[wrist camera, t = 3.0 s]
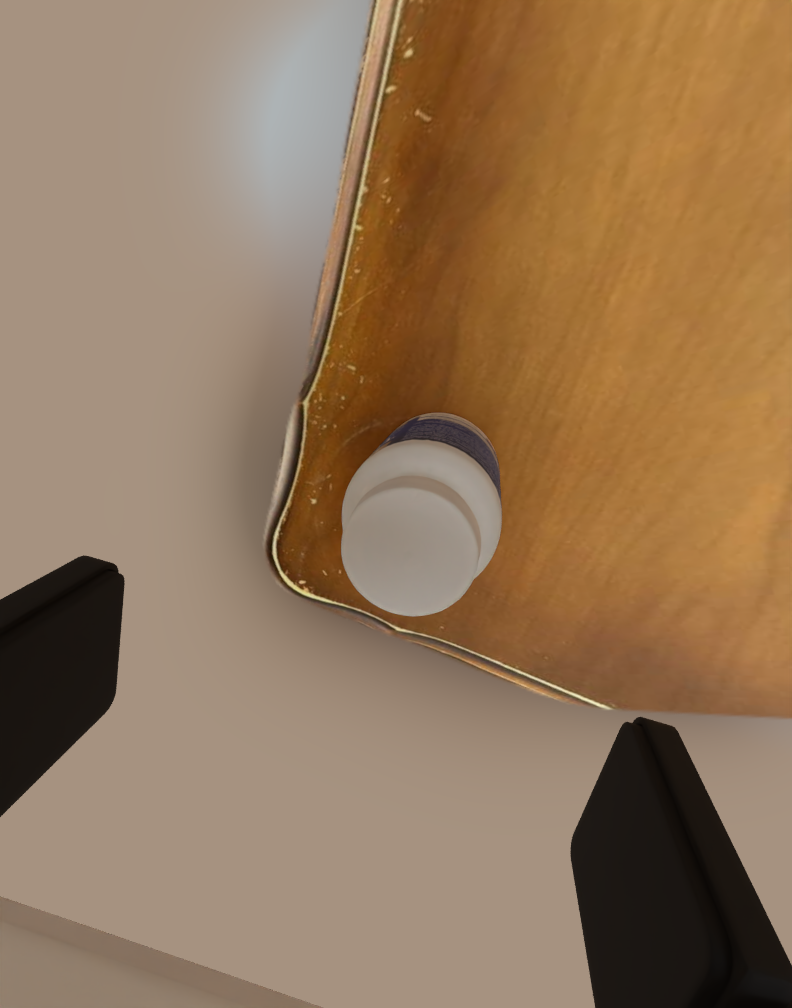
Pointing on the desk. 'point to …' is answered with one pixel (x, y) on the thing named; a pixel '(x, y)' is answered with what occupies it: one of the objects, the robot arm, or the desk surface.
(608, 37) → the desk surface
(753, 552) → the desk surface
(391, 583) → the pill bottle
